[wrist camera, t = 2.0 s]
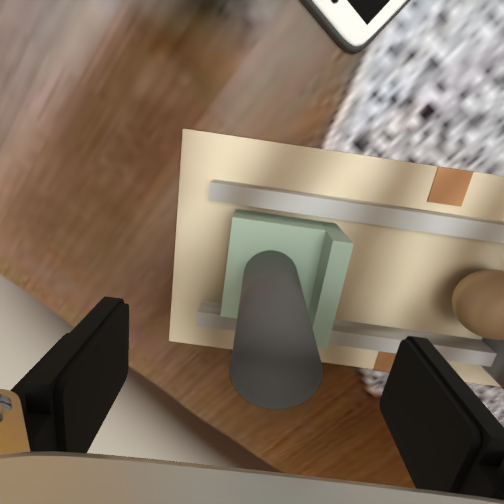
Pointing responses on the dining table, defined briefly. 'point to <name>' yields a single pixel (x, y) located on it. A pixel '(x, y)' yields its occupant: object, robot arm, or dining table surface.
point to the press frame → (364, 249)
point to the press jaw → (282, 303)
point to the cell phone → (353, 19)
